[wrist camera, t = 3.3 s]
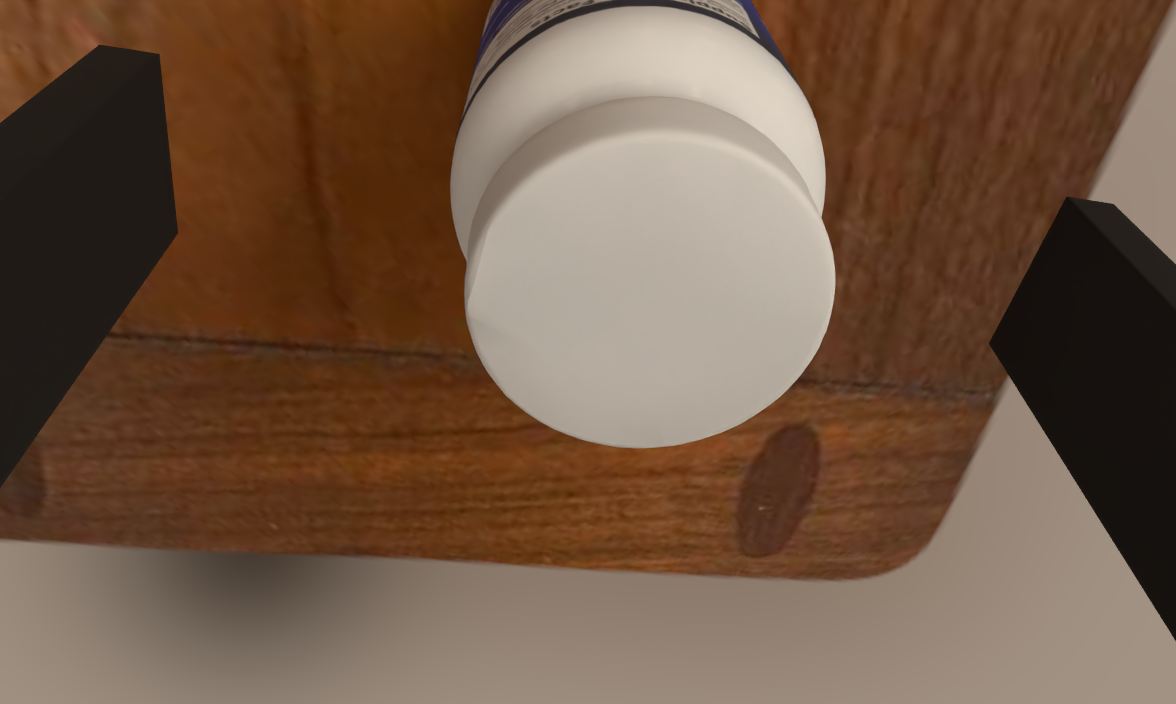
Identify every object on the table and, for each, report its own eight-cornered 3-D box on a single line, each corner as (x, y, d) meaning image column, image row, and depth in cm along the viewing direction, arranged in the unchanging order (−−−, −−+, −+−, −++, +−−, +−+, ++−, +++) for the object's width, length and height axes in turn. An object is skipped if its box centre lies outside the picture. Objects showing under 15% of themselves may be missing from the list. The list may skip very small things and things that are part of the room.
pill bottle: (727, 186, 21) (817, 493, 13) (481, 166, 21) (420, 469, 13) (780, -81, 18) (943, 115, 10) (487, -110, 18) (410, 69, 10)
